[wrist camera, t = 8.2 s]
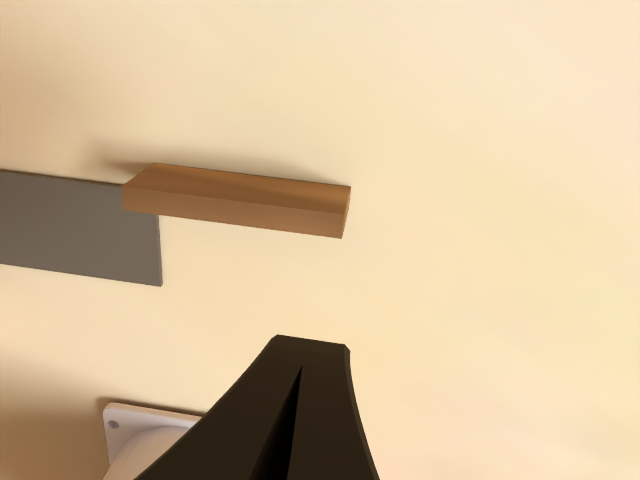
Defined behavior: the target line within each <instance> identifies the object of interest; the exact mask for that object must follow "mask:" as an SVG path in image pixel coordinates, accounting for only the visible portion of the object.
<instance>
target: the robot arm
mask: <svg viewBox="0 0 640 480" xmlns="http://www.w3.org/2000/svg"><path fill="white" fill-rule="evenodd" d="M102 415H103V422H104V429H105V436H106V443H107V450H108V457H109V464H110V468H109V470H108V472H107V473H106V475H105V477H104V478H103V480H380V479H379V476H378V473H377V470H376V468H375V465H374V462H373V459H372V456H371V453H370V449H369V446H368V443H367V439H366V436H365V432H364V429H363V425H362V422H361V418H360V415H359V411H358V407H357V403H356V398H355V393H354V388H353V383H352V376H351V368H350V350H349V349H348V348H347V347H346V345H345V344H338V343H331V342H325V341H318V340H311V339H304V338H298V337H291V336H284V335H276V336H275V337H273V338H272V339H271V340H270V341H269V342H268V344H267V345H266V346H265V348H264V349H263V350H262V351H261V353H260V354H259V355H258V357H257V358H256V359H255V360H254V361H253V363H252V364H251V365H250V366H249V367H248V368H247V370H246V371H245V372H244V373H243V374H242V375H241V377H240V378H239V379H238V380H237V381H236V382H235V383H234V384H233V385H232V386H231V388H230V389H229V390H228V391H227V392H226V393H225V394H224V395H223V396H222V397H221V398H220V399H219V400H218V401H217V402H216V403H215V405H214V406H213V407H212V408H211V409H210V410H209V411H208V412H207V413H206V414H205V415H204V416H203V417H200V416H194V415H188V414H182V413H176V412H170V411H164V410H158V409H151V408H145V407H139V406H133V405H127V404H121V403H109V404H107V406H106V407H105V408H104V410H103V413H102Z"/></svg>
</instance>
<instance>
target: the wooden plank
mask: <svg viewBox="0 0 640 480" xmlns="http://www.w3.org/2000/svg"><path fill="white" fill-rule="evenodd" d="M121 190H122V201H123V210H126V211H134V212H142V213H149V214H157V215H164V216H172V217H180V218H187V219H195V220H203V221H210V222H218V223H226V224H233V225H241V226H248V227H256V228H264V229H271V230H279V231H287V232H294V233H302V234H310V235H317V236H325V237H332V238H340V239H342V236H343V231H344V227H345V222H346V218H347V213H348V209H349V200H350V192H351V187H346V186H338V185H330V184H322V183H314V182H305V181H297V180H289V179H281V178H273V177H264V176H256V175H248V174H240V173H232V172H223V171H215V170H207V169H199V168H191V167H182V166H174V165H166V164H158V163H155V164H153V165H152V166H150V167H149V168H147V169H146V170H144V171H143V172H141V173H140V174H139V175H137V176H136V177H134V178H133V179H131V180H130V181H128V182H127V183H125V184H124V185H122V186H121Z"/></svg>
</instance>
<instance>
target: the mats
mask: <svg viewBox="0 0 640 480" xmlns="http://www.w3.org/2000/svg"><path fill="white" fill-rule="evenodd" d="M121 186H122V185H116V184H108V183H100V182H93V181H85V180H77V179H69V178H61V177H53V176H45V175H37V174H29V173H21V172H14V171H6V170H0V264H6V265H13V266H20V267H27V268H34V269H41V270H48V271H55V272H62V273H69V274H76V275H83V276H90V277H97V278H104V279H110V280H117V281H124V282H131V283H138V284H145V285H152V286H159V287H161V286H162V284H163V280H162V265H161V249H160V233H159V217H158V215H157V214H149V213H142V212H134V211H126V210H123V201H122V190H121Z"/></svg>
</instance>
